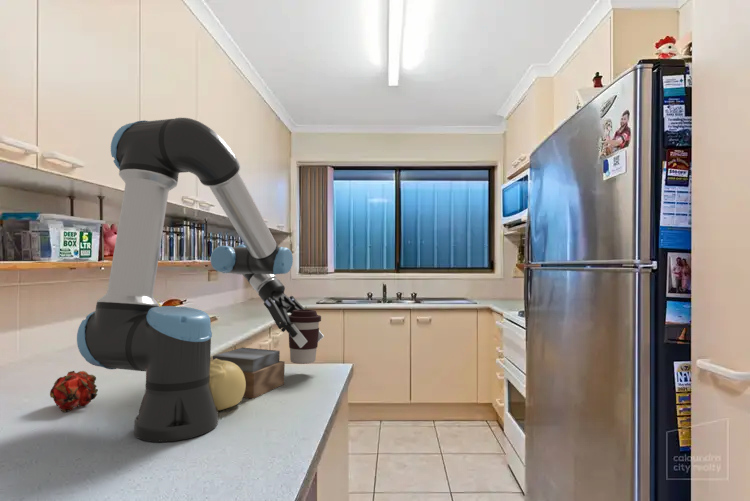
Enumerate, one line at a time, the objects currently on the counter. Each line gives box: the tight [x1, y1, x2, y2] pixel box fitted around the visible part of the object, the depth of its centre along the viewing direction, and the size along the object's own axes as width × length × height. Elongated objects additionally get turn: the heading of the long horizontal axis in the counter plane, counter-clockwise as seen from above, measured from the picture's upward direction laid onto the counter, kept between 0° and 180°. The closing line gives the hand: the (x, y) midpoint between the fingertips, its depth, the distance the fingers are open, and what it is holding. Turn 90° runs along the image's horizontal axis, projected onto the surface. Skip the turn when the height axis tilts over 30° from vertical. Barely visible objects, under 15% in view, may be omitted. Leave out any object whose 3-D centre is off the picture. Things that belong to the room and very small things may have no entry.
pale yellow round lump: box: [210, 359, 246, 412], centre depth 100 cm, size 12×12×11 cm
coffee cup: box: [288, 309, 322, 365], centre depth 129 cm, size 10×10×15 cm
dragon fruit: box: [49, 370, 99, 413], centre depth 98 cm, size 8×8×12 cm
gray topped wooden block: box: [212, 347, 286, 399], centre depth 115 cm, size 14×14×9 cm
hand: (312, 341), depth 128 cm, fingers closed on coffee cup, 10 cm apart
